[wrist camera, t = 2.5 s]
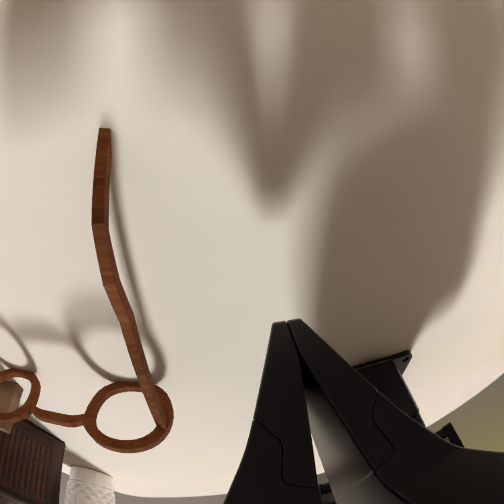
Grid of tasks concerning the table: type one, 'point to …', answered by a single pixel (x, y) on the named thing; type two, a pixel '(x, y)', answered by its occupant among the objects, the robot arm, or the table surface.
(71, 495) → the white cup
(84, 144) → the table surface
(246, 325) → the table surface
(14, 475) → the coffee grinder
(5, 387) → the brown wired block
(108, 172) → the glasses
